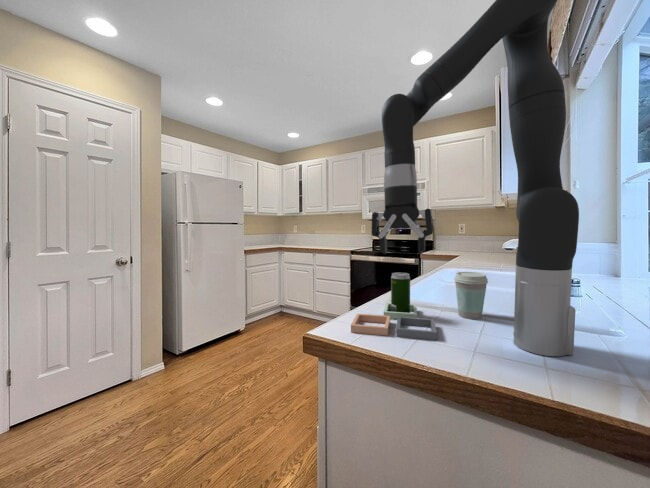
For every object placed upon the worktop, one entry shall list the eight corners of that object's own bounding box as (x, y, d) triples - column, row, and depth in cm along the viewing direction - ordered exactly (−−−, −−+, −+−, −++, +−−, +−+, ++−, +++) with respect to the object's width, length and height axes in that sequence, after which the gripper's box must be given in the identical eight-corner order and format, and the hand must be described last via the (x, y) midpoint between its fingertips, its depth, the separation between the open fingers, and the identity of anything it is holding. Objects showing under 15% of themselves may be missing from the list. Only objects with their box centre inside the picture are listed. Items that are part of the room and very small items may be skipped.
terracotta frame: (390, 322, 76) (390, 316, 76) (387, 335, 67) (387, 328, 67) (357, 319, 78) (357, 313, 78) (350, 332, 70) (350, 325, 70)
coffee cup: (456, 309, 86) (457, 270, 85) (488, 314, 81) (489, 273, 80) (450, 317, 79) (451, 275, 78) (485, 323, 74) (486, 278, 73)
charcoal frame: (433, 325, 73) (433, 319, 72) (436, 340, 64) (436, 332, 64) (397, 323, 75) (397, 316, 75) (396, 336, 67) (396, 329, 66)
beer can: (401, 318, 78) (401, 276, 78) (387, 313, 83) (387, 273, 82) (414, 314, 81) (414, 274, 80) (399, 310, 86) (399, 271, 85)
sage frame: (416, 310, 85) (416, 304, 85) (417, 320, 77) (417, 314, 76) (386, 308, 88) (386, 302, 88) (383, 318, 79) (383, 311, 79)
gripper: (433, 184, 67) (435, 252, 68) (376, 190, 73) (378, 251, 75) (429, 180, 60) (431, 255, 61) (366, 187, 67) (368, 255, 68)
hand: (402, 253), depth 68 cm, fingers open, 8 cm apart
